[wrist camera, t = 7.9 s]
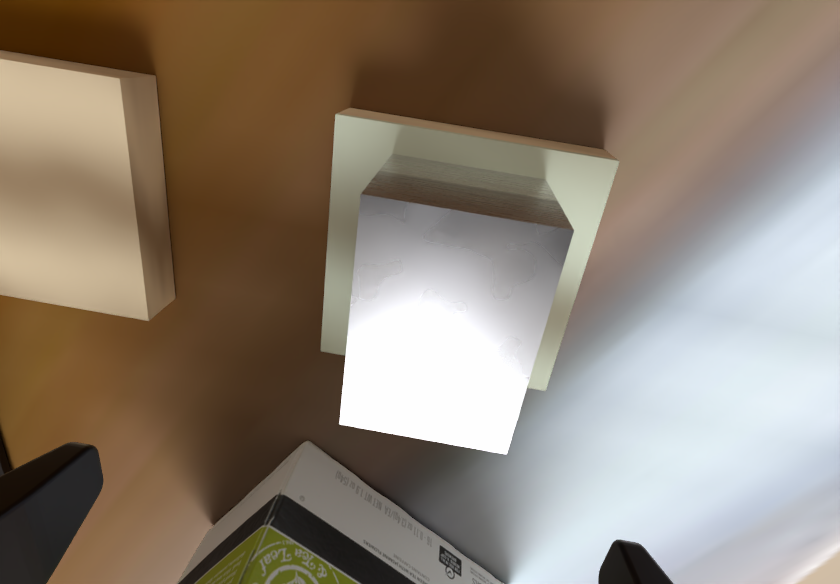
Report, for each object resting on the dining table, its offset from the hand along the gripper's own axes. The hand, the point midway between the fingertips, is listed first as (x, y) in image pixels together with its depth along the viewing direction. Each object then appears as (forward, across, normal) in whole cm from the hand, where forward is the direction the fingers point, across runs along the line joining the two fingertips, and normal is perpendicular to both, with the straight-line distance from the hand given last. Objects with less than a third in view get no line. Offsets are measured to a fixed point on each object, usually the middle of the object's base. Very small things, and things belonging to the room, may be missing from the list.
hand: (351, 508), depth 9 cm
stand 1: (+12, +15, 0) cm, 19 cm away
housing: (+10, -1, 0) cm, 10 cm away
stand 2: (+12, -1, 0) cm, 12 cm away
